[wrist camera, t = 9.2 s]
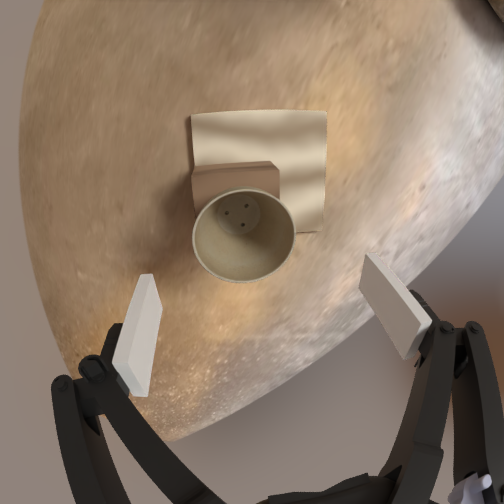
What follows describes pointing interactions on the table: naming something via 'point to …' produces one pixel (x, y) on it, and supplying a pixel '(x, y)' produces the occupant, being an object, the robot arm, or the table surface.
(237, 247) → the flower pot
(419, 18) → the table surface
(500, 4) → the bowl
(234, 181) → the pedestal
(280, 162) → the board
